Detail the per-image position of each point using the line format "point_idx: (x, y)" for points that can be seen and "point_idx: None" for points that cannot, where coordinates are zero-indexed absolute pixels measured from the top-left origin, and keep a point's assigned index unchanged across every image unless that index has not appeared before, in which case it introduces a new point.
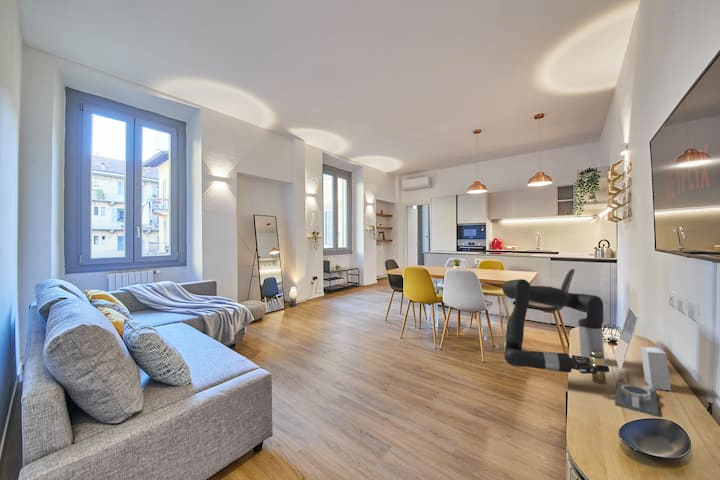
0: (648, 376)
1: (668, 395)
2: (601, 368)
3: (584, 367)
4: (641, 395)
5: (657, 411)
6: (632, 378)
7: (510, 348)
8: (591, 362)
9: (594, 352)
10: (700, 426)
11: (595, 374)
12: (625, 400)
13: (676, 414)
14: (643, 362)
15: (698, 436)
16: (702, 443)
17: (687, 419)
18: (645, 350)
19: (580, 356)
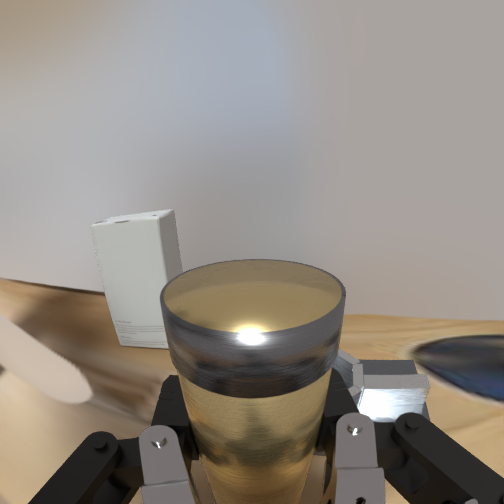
0: (155, 319)
1: None
2: (349, 402)
3: (501, 479)
4: (358, 364)
5: (398, 361)
6: (101, 362)
7: None
8: (280, 451)
9: (268, 299)
10: (389, 324)
11: (302, 485)
12: (382, 421)
13: (357, 344)
14: (114, 282)
15: (442, 328)
16: (464, 326)
17: (370, 334)
18: (132, 222)
19: (50, 484)
